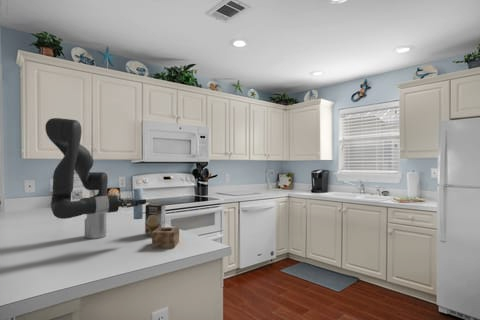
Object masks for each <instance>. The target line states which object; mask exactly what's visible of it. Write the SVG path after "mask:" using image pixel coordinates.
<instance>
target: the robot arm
mask: <svg viewBox="0 0 480 320" xmlns="http://www.w3.org/2000/svg"><path fill="white" fill-rule="evenodd" d="M44 128H45V133H46V136H47V138H48V139H49V141H51V142H52V143H53V145H55V147H57V149H58V150H60V152H61V153H62V155H63V157H62V158H61V160H60V162H58V164H57V166H56V167H55V168H54V171H53V175H52V197H51V202H50V209H51V212H52V214H53V216H54V217H56V218H57V219H62V220H65V219H71V218H76V217H79V216H82V215H86V218H85V219H84V238H85V239H91V240H92V239H100V238H104V237H106V236H107V214H108V213H109V214H110V213H117V212H118V211H119V208H124V209H125V208H132V207H133V208H134V206H138V205H141V204H143V205H147V199H145V198H143V199H142V200H134V197H133V198H132V197H130V198H129V197H126V198H125V197H121V198H119V197H118V195H116V194H114V195H108V183H109V181H108V180H109V179H108V174H107V173H106V172H103V171H102V172H100V171H96V172H95V171H92V172H91V169H92V167H93V165H94V158H93V157H92V154H91V152H90V151H89V150H88V149H87V148H86V147H85V146H83V145H82V144H81V140H82V139H81V138H82V132H83V131H82V126H81V123H80V122H79V121H78V120H76V119H72V118H71V119H69V118H60V117H55V118H54V117H53V118H50V119H48V120H47V121H46V123H45V126H44ZM75 173H76V174H77V176H78V178H79V180H80V181H81V183H82V186H83V188H84V189H86V190H89V191H97V193H96V194H95V195H92V196H90V197H82V198H80V199H79V200H72V193H73V190H74V182H75V181H74V180H75V179H74V178H75ZM134 202H135V204H134Z"/></svg>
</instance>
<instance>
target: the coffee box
mask: <svg viewBox="0 0 480 320" xmlns="http://www.w3.org/2000/svg"><path fill="white" fill-rule="evenodd" d="M144 211H145V213H144V214H145V216H144V218H145V220H144V221H145V222H144V225H145V226H144V236H149V237H150V236H151V237H152V232H153V231H154V230H156V229H157V228H158V227H166V204H165V203H146V204H145V210H144Z"/></svg>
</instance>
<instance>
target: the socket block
mask: <svg viewBox="0 0 480 320" xmlns="http://www.w3.org/2000/svg"><path fill="white" fill-rule="evenodd" d="M179 243H180V226H178V227H177V226H175V227H174V226H172V227H171V226H169V227H166V226H165V227H158V228H157V229H156V230H154V231H153V232H152V236H151V248H152V249H174V248H176V247H177V245H178V244H179Z"/></svg>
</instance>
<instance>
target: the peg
mask: <svg viewBox="0 0 480 320" xmlns="http://www.w3.org/2000/svg"><path fill="white" fill-rule="evenodd" d="M133 198H134V200H142V199H144V189H143V188H134V189H133ZM134 204H135V202H134ZM143 205H144V204H141V205H138V206H134V207H133V220H143V210H144V209H143Z"/></svg>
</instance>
